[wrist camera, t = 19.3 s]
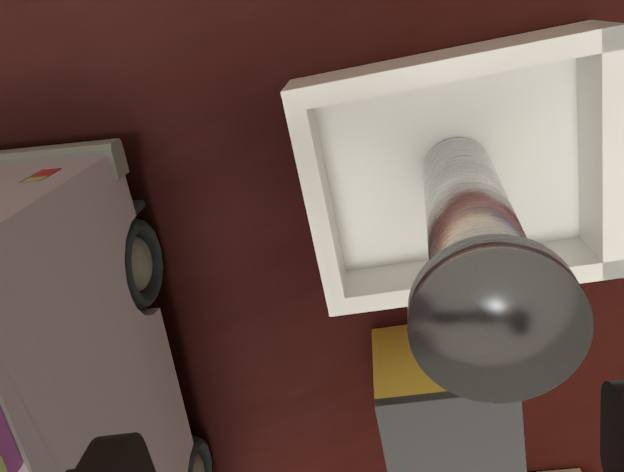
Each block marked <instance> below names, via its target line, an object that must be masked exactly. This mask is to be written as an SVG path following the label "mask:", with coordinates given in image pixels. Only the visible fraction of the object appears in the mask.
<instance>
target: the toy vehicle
mask: <svg viewBox="0 0 624 472" xmlns="http://www.w3.org/2000/svg"><path fill="white" fill-rule="evenodd" d="M129 172H130V171H129V168H128V164H127V160H126V156H125V152H124V148H123V145H122V141H121V140H120V139H119V138H116V139H106V140H96V141H87V142H77V143H67V144H57V145H47V146H37V147H28V148H18V149H8V150H0V472H65V471H66V470H68V469H75V468H76V466H77V464H78V462H79V461H80V459H81V457H82V456H83V454H84V452H85V450H86V449H87V447H88V445H89V444H90V442H91V441H92V440H93V439H94V438H95V437H98V436H106V435H115V434H124V433H133V432H138V433H140V434H141V435H142V437H143V438H144V440H145V443H146V445H147V448H148V451H149V453H150V456H151V459H152V462H153V464H154V467H155V470H156V472H212V458H211V455H210V451H209V448H208V445H207V443H206V441H205V440H203V439H201V438H199V437H197V436H192V435H191V431H190V427H189V423H188V419H187V415H186V411H185V407H184V402H183V398H182V394H181V390H180V386H179V382H178V378H177V374H176V370H175V366H174V362H173V358H172V354H171V350H170V346H169V342H168V338H167V334H166V330H165V326H164V322H163V318H162V314H161V310H160V308H147V307H149V306H150V305H152V303H153V302H154V301H155V300H156V298H157V296H158V293H159V291H160V288H161V284H162V275H163V261H162V252H161V247H160V244H159V241H158V238H157V236H156V233H155V231H154V229H153V228H152V227H151V226H150V225H149V224H148V223H147V222H145V221H143V220H141V219H138V218H135V217H136V215H137V214H138V213H139V212H140V211H141V210H142V209H143V208H144V207H145V203H144V200H134V201H132V198H131V194H130V191H129V187H128V184H127V180H126V177H125V175H126V174H127V173H129Z"/></svg>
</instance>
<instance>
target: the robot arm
mask: <svg viewBox="0 0 624 472" xmlns="http://www.w3.org/2000/svg"><path fill="white" fill-rule="evenodd" d="M600 456H601V463H602V468H603V472H624V379H620V380H612V381H605V382H604V383H603V384H602V387H601V424H600ZM65 472H156V470H155V467H154V464H153V462H152V459H151V456H150V453H149V451H148V448H147V445H146V443H145V440H144V438H143V437H142V435H141V434H140V433H138V432H133V433H124V434H115V435H106V436H98V437H95V438H94V439H93V440H92V441H91V442H90V444H89V445H88V447H87V449H86V450H85V452H84V454H83V456H82V457H81V459H80V461H79V462H78V464H77V466H76V468H75V469H68V470H66V471H65Z"/></svg>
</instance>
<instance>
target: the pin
mask: <svg viewBox="0 0 624 472" xmlns="http://www.w3.org/2000/svg"><path fill="white" fill-rule="evenodd" d="M423 178H424V194H425V209H426V225H427V240H428V256H429V261H428V262H427V263H426V264H425V265H424V266H423V268H422V269H421V270H420V271H419V273H418V275H417V276H416V278H415V280H414V282H413V285H412V287H411V290H410V294H409V298H408V313H407V332H408V341H409V345H410V349H411V351H412V354H413V356H414V358H415V360H416V362H417V363H418V365H419V366H420V368H421V369H422V370H423V372H424V373H425V374H426V375H427V376H428V377H429V378H430V379H431V380H432V381H434V382H435V383H436V384H438V385H439V386H440V387H442V388H444V389H445V390H447V391H449V392H451V393H453V394H455V395H457V396H460V397H463V398H466V399H469V400H473V401H478V402H485V403H512V402H518V401H523V400H528V399H531V398H534V397H537V396H540V395H542V394H544V393H547V392H549V391H550V390H552V389H554V388H556V387H557V386H559V385H560V384H561V383H563V382H564V381H566V380H567V379H568V378H569V377H570V376H571V375H572V374H573V373H574V372H575V371H576V370H577V368H578V367H579V366H580V365H581V363H582V362H583V360H584V358H585V357H586V355H587V353H588V350H589V348H590V345H591V341H592V337H593V328H594V322H593V314H592V310H591V306H590V303H589V301H588V299H587V297H586V294H585V293H584V291H583V289H582V287H581V286H580V284H579V282H578V280H577V279H576V277H575V275H574V274H573V272H572V271H571V269H570V268H569V266H568V265H567V264H566V263H565V262H564V260H563V259H562V258H561V257H560V256H558V255H557V254H556V253H555V252H554V251H552V250H551V249H549V248H547V247H546V246H544V245H542V244H540V243H538V242H536V241H534V240H531V239H527V237H526V235H525V233H524V231H523V228H522V226H521V224H520V222H519V220H518V218H517V216H516V213H515V211H514V209H513V207H512V205H511V203H510V201H509V198H508V196H507V194H506V192H505V190H504V188H503V186H502V183H501V181H500V179H499V177H498V175H497V173H496V171H495V168H494V166H493V164H492V162H491V160H490V158H489V156H488V153H487V152H486V150H485V149H484V147H483V146H482V145H481V144H479V143H478V142H477V141H475V140H473V139H471V138H467V137H462V136H456V137H450V138H446V139H444V140H442V141H440V142H438V143H437V144H436V145H434V146H433V147H432V148H431V149H430V151H429V152H428V154H427V156H426V158H425V160H424V164H423Z"/></svg>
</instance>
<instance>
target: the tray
mask: <svg viewBox="0 0 624 472" xmlns="http://www.w3.org/2000/svg"><path fill="white" fill-rule="evenodd" d="M280 93H281V97H282V102H283V107H284V111H285V116H286V120H287V125H288V129H289V134H290V138H291V143H292V148H293V152H294V157H295V161H296V166H297V170H298V175H299V180H300V184H301V189H302V193H303V198H304V202H305V207H306V212H307V216H308V221H309V225H310V230H311V234H312V239H313V244H314V248H315V253H316V257H317V262H318V266H319V271H320V276H321V280H322V285H323V289H324V294H325V298H326V303H327V308H328V312H329V317H333V316H341V315H348V314H356V313H363V312H371V311H378V310H386V309H393V308H401V307H408V298H409V294H410V290H411V287H412V285H413V282H414V280H415V278H416V276H417V275H418V273H419V271H420V270H421V269H422V268H423V266H424V265H425V264H426V263H427V262H428V261H429V256H428V240H427V225H426V209H425V194H424V178H423V164H424V160H425V158H426V156H427V154H428V152H429V151H430V149H431V148H432V147H433V146H434V145H436V144H437V143H438V142H440V141H442V140H444V139H446V138H450V137H456V136H462V137H467V138H471V139H473V140H475V141H477V142H478V143H479V144H481V145H482V146H483V147H484V149H485V150H486V152H487V153H488V156H489V158H490V160H491V162H492V164H493V166H494V168H495V171H496V173H497V175H498V177H499V179H500V181H501V183H502V186H503V188H504V190H505V192H506V194H507V196H508V198H509V201H510V203H511V205H512V207H513V209H514V211H515V213H516V216H517V218H518V220H519V222H520V224H521V226H522V228H523V231H524V233H525V235H526V237H527V239H531V240H534V241H536V242H538V243H540V244H542V245H544V246H546V247H547V248H549V249H551V250H552V251H554V252H555V253H556V254H557V255H558V256H560V257H561V258H562V259H563V260H564V262H565V263H566V264H567V265H568V266H569V268H570V269H571V271H572V272H573V274H574V275H575V277H576V279H577V280H578V282H579V284H581V283H588V282H596V281H603V280H611V279H618V278H624V23H617V22H608V21H599V20H587V21H582V22H577V23H572V24H567V25H562V26H557V27H552V28H547V29H542V30H537V31H532V32H527V33H522V34H517V35H512V36H507V37H501V38H496V39H491V40H486V41H481V42H476V43H471V44H466V45H461V46H456V47H451V48H446V49H441V50H436V51H431V52H426V53H421V54H416V55H411V56H406V57H401V58H396V59H391V60H386V61H381V62H376V63H371V64H366V65H361V66H356V67H351V68H346V69H341V70H336V71H331V72H326V73H321V74H316V75H311V76H306V77H301V78H296V79H291V80H290V81H289V82H288V83H287V84H286V86H285V87H284V88H283V89H282V90H281V92H280Z"/></svg>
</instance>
